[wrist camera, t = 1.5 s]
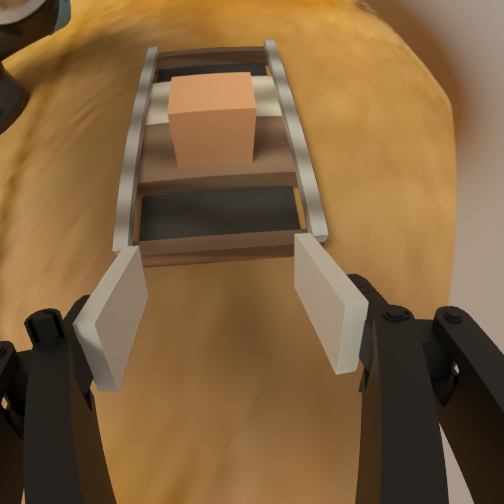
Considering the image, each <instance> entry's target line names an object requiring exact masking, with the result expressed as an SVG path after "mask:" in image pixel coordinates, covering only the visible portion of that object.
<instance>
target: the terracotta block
mask: <svg viewBox="0 0 504 504" xmlns="http://www.w3.org/2000/svg"><path fill="white" fill-rule="evenodd" d="M256 110H257V107H256V102H255V96H254V91H253V85H252V80H251V74H250V72H234V73H214V74H200V75H189V76H178V77H172V79H171V87H170V96H169V105H168V120H169V125H170V130H171V135H172V139H173V144H174V149H175V154H176V159H177V163H178V168H184V167H195V166H208V165H222V164H238V163H252V160H253V148H254V135H255V122H256Z"/></svg>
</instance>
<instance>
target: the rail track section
mask: <svg viewBox="0 0 504 504" xmlns="http://www.w3.org/2000/svg"><path fill="white" fill-rule="evenodd" d="M264 65H269V67H270V71H271V75H272V76H267V74H266V70H265V66H264ZM155 72H159V77H158V83H154V84H152V83H153V78H154V73H155ZM234 72H250V74H251V80H252V85H253V91H254V96H255V102H256V107H257V110H256V122H255V135H254V148H253V160H252V163H238V164H222V165H208V166H195V167H184V168H178V163H177V159H176V154H175V149H174V144H173V139H172V135H171V130H170V125H169V120H168V105H169V96H170V87H171V79H172V77H178V76H189V75H200V74H214V73H234ZM295 187H299V191H300V196H301V201H302V205H303V210H304V215H305V220H306V225H307V229H300V225H299V220H298V215H297V210H296V204H295V199H294V194H293V189H292V188H295ZM141 198H143V201H142V215H141V231H140V241H139V242H133V229H134V215H135V203H136V199H141ZM300 233H311V234H312V236H313V237H314V238H315V239H316V240H317V241H318V242H319V244H320V245H321V246H323V244H324V242H325V241H326V239H327V237H328V235H329V234H328V230H327V225H326V221H325V216H324V212H323V208H322V204H321V199H320V195H319V191H318V187H317V183H316V179H315V175H314V171H313V168H312V164H311V160H310V156H309V153H308V149H307V145H306V142H305V138H304V134H303V131H302V127H301V124H300V120H299V117H298V114H297V110H296V107H295V104H294V100H293V97H292V94H291V90H290V87H289V84H288V81H287V78H286V75H285V72H284V68H283V65H282V62H281V59H280V56H279V53H278V51H277V48H276V45H275V42H274V39H264V47H263V46H255V47H220V48H204V49H191V50H181V51H172V52H164V53H159V52H158V46H153V47H148V51H147V54H146V58H145V62H144V65H143V69H142V73H141V77H140V81H139V85H138V89H137V93H136V98H135V102H134V106H133V111H132V116H131V121H130V126H129V131H128V136H127V141H126V147H125V153H124V159H123V165H122V171H121V178H120V185H119V192H118V200H117V208H116V217H115V227H114V238H113V250H112V251H113V252H114V254H115V255H116V256H118V254H119V253H120V252H121V250H122V249H123V247H128V246H139V248H140V254H141V260H142V266H143V267H157V266H171V265H184V264H198V263H211V262H225V261H238V260H251V259H264V258H277V257H289V256H294V234H300Z"/></svg>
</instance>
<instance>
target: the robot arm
mask: <svg viewBox="0 0 504 504" xmlns="http://www.w3.org/2000/svg"><path fill="white" fill-rule="evenodd" d="M70 19H71V5H70V0H0V134H1V133H2V132H3V131H4V130H5V129H7V128H8V127H9V126H10V125H11V124H12V123H13V121H14V120H15V119H16V118H17V117H18V116H19V114H20V113H21V111H22V110H23V108H24V107H25V105H26V102H27V99H28V94H27V91H26V89H25V88H24V86H23V84H22V83H21V82H19V81H17V80H16V79H15V78H14V77H13V76H12V75H11V74H10V73H9V72H8V71H7V70H6V69H5V68H4V66H3V64H2V62H1V61H3V60H4V59H6V58H7V57H9V56H11V55H13V54H14V53H16V52H18V51H19V50H21V49H23V48H25V47H27V46H28V45H30V44H32V43H34V42H36V41H38V40H40V39H42V38H44V37H46V36H48V35H52V34H54V33H55V32H56V31H58V30H59V29H61V28H63V27H65V26H66V25H67V24H68V23H69V21H70ZM294 288H295V290H296V292H297V294H298V296H299V298H300V300H301V302H302V304H303V306H304V308H305V311H306V313H307V315H308V317H309V319H310V321H311V323H312V325H313V327H314V329H315V332H316V334H317V336H318V338H319V340H320V342H321V344H322V346H323V349H324V351H325V353H326V355H327V357H328V359H329V361H330V364H331V366H332V368H333V370H334V372H335V374H336V375H338V374H344V373H349V372H354V371H357V367H358V362H359V358H360V360H361V361H362V363H363V365H364V370H363V375H362V379H361V383H360V388H359V392H362V414H361V439H360V455H359V469H358V481H357V491H356V501H355V504H449V498H448V486H447V476H446V467H445V459H444V452H443V446H442V438H441V432H440V426H439V423H440V425H441V427H442V429H443V431H444V433H445V436H446V438H447V440H448V442H449V444H450V447H451V449H452V451H453V453H454V455H455V458H456V460H457V463H458V465H459V467H460V469H461V472H462V474H463V477H464V479H465V481H466V484H467V486H468V489H469V491H470V494H471V496H472V499H473V501H474V504H504V355H503V353H502V352H501V351H500V350H499V349H498V347H497V346H496V345H495V344H494V343H493V341H492V340H491V339H490V338H489V337H488V336H487V335H486V333H485V332H484V331H483V330H482V329H481V328H480V327H479V325H478V324H477V323H476V322H475V321H474V320H473V319H472V318H471V316H470V315H469V314H468V313H466V312H465V311H464V310H461V309H459V308H458V307H453V306H444V307H441V308H439V309H437V310H436V313H435V317H434V320H424V319H415V318H414V316H413V314H412V313H411V312H410V311H409V310H408V309H406V308H404V307H401V306H397V305H389V304H388V303H387V301H386V300H385V299H384V298H383V297H382V296H381V295H380V294H379V293H378V292H376V289H375V288H374V287H373V286H372V285H371V284H370V283H369V282H368V281H367V279H365V278H363V277H361V276H359V275H358V274H350V275H346V274H345V273H344V272H343V271H342V269H341V268H340V267H339V266H338V265H337V263H336V262H335V261H334V260H333V259H332V258H331V256H330V255H329V254H328V253H327V252H326V251H325V249H324V248H323V247H322V246H321V245H320V244H319V242H318V241H317V240H316V239H315V238H314V237H313V236H312V234H311V233H300V234H294ZM147 300H148V292H147V287H146V282H145V277H144V271H143V266H142V260H141V254H140V248H139V246H128V247H123V249H122V250H121V252H120V253H119V254H118V256H117V257H116V259H115V260H114V262H113V263H112V265H111V266H110V267H109V269H108V270H107V272H106V273H105V275H104V276H103V278H102V279H101V281H100V282H99V284H98V285H97V287H96V288H95V290H94V291H93V293H92V294H91V295H84V296H83V297H81V298H80V299H79V300H77V301H76V302H75V303H74V305H73V306H72V308H71V310H70V311H69V312H68V313H67V316H65V318H64V319H62V316H61V313H60V311H58V310H57V309H52V308H49V309H43V310H40V311H37V312H35V313H33V314H31V315H30V316H29V317H28V318H27V319H26V320H25V322H24V325H25V327H26V330H27V332H28V335H29V337H30V339H31V342H32V344H33V348H32V350H27V351H21V352H16V350H15V348H14V345H13V343H11V342H10V341H0V504H21V501H22V495H23V490H24V492H25V504H117V503H116V500H115V496H114V493H113V489H112V485H111V481H110V477H109V473H108V469H107V465H106V461H105V456H104V451H103V447H102V442H101V437H100V431H99V426H98V420H97V414H96V408H95V401H94V396H93V394H92V392H91V389H90V385H91V383H92V380H93V379H94V382H95V384H96V386H97V388H98V391H119V388H120V385H121V381H122V378H123V374H124V371H125V368H126V364H127V361H128V358H129V355H130V351H131V348H132V345H133V342H134V339H135V336H136V333H137V330H138V327H139V324H140V321H141V318H142V315H143V312H144V309H145V306H146V303H147ZM456 364H457V366H458V369H459V373H457V372H456V370H455V369H454V368H455V366H456ZM3 397H4V398H5V400H6V402H7V403H8V405H7V407H6V409H4V408H3V406H2V405H1V402H2V399H3Z"/></svg>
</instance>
